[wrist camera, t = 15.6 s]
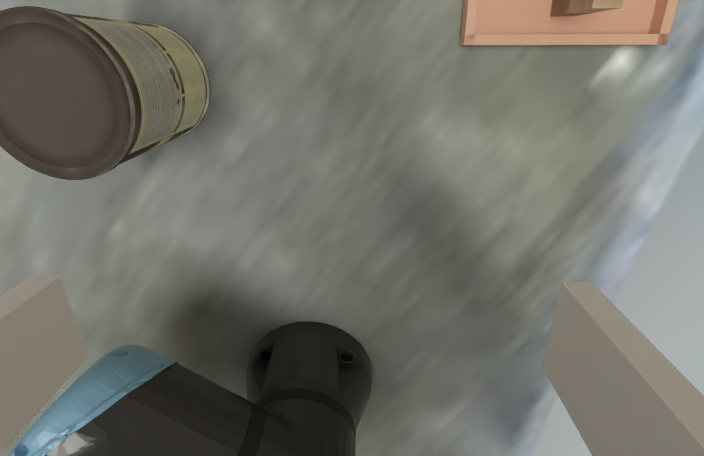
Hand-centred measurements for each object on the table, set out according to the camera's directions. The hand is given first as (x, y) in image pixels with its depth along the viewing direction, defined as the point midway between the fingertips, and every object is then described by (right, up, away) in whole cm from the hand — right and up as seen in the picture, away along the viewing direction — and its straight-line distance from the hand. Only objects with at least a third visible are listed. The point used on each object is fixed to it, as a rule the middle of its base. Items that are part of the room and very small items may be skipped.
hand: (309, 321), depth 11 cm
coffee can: (-17, +16, +27) cm, 36 cm away
